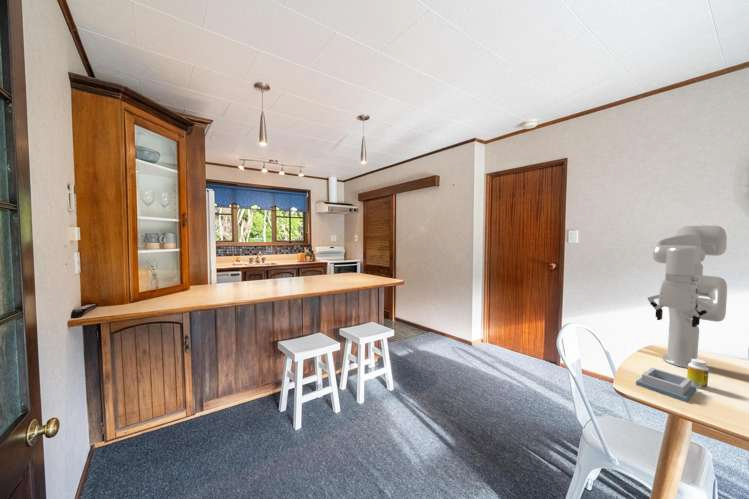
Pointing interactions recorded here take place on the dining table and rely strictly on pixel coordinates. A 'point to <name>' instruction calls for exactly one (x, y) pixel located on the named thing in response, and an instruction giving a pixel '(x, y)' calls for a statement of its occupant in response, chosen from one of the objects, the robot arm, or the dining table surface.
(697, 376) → the supplement bottle
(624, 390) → the dining table surface
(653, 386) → the tray
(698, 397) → the dining table surface
